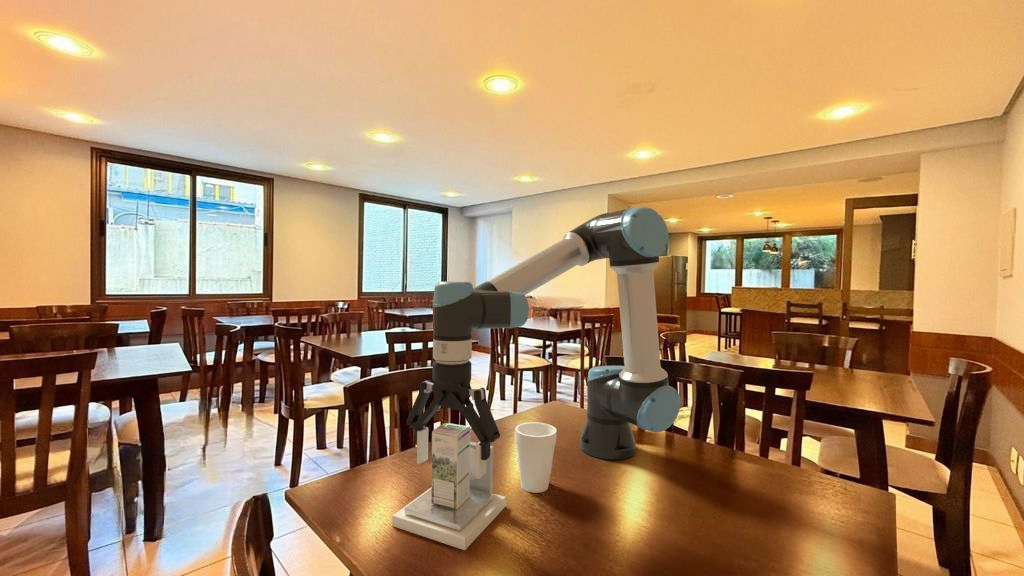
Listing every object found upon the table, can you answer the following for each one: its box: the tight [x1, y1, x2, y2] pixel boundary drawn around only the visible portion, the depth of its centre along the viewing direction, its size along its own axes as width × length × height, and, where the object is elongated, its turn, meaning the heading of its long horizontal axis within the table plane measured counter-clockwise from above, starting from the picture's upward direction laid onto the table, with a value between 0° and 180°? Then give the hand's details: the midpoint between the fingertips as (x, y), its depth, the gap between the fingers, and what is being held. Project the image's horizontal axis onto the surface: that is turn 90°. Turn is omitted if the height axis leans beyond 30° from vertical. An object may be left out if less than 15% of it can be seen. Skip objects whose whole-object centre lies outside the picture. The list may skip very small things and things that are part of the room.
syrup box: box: [431, 422, 471, 510], centre depth 84 cm, size 6×6×14 cm
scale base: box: [391, 441, 507, 551], centre depth 85 cm, size 16×16×12 cm
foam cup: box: [514, 421, 558, 494], centre depth 98 cm, size 10×9×13 cm
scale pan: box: [404, 487, 494, 531], centre depth 85 cm, size 12×12×1 cm
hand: (450, 468), depth 84 cm, fingers open, 13 cm apart
